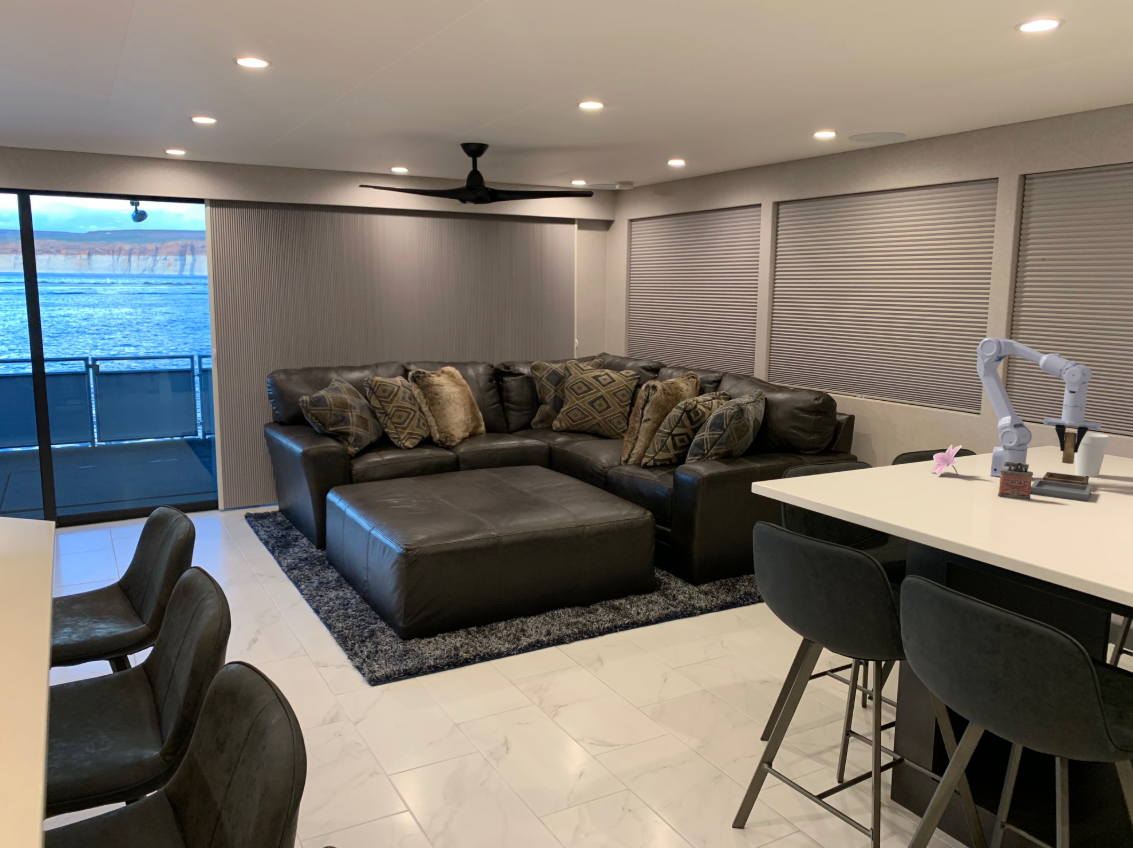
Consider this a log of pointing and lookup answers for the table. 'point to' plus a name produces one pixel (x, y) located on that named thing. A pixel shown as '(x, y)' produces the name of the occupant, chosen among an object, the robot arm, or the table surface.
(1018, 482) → the lighter
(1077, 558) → the table surface
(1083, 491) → the tray
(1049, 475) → the holder
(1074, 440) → the pin
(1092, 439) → the foam cup
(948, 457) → the lily
